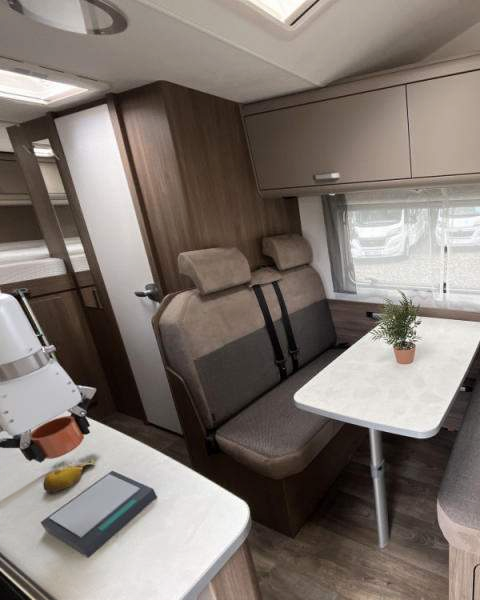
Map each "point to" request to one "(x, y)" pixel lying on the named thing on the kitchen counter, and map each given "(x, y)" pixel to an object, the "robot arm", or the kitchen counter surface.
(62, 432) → the bowl
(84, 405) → the robot arm
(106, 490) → the scale
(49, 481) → the fruit
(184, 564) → the kitchen counter surface
